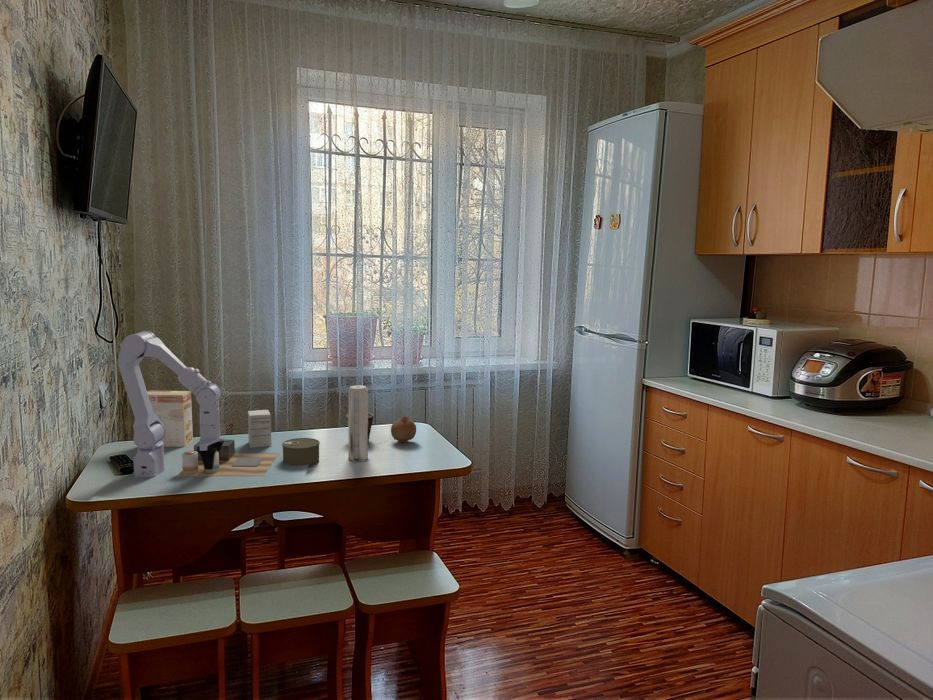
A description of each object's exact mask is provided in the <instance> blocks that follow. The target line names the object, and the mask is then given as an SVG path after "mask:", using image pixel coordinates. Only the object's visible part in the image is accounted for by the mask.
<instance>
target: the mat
mask: <svg viewBox="0 0 933 700" xmlns="http://www.w3.org/2000/svg"><path fill="white" fill-rule="evenodd" d="M262 460H263V458H238V459H237V460H236V461H235V462H234V463H233V465H232V466H258V465H259V464H260V462H261V461H262Z"/></svg>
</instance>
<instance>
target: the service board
mask: <svg viewBox="0 0 933 700" xmlns="http://www.w3.org/2000/svg"><path fill="white" fill-rule="evenodd" d="M279 454H280V453H279V452H269V453H268V452H263V453H262V452H260V453H259V452H252V453H251V452H247V453H246V452H245V453H243V452H242V453H241V452H237V453H236V452H235V455H234V456H233V457H232V458H231V459H230V460H229V461H219V471H218V472H214V473H205V472H204V464H203V461H198V472H197V473H194V474H184V473H183V469H182V470H181V471H180V472H179V473H178V474H177V475H176V477H264V476H265V475H266V473H267V472H268V471H269V469H270V467H271V466H272V465H273V463H274V462H275V460H277V459H276V458H277V457H278V456H279ZM238 458H263V460H262V461H261V462H260V464H259V465H258V466H232V465H233V463H234V462H235V461H236V460H237V459H238Z"/></svg>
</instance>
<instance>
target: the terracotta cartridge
mask: <svg viewBox="0 0 933 700" xmlns="http://www.w3.org/2000/svg"><path fill="white" fill-rule="evenodd" d="M181 457H182V458H181V460H182V461H181V463H182V466H181V467H182V470H183V473H184V474H194V473H197V472H198V452H197V451H194V450H187V451H184V452H182V453H181Z"/></svg>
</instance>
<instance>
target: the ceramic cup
mask: <svg viewBox="0 0 933 700" xmlns="http://www.w3.org/2000/svg"><path fill="white" fill-rule="evenodd" d="M345 418H346V422H347V423H346V424H347V427H348V428H349V420H348V413H347V414H346V415H345ZM373 420H374V414H373V413H371V412H368V443H369V442H370V435H371V432H372V431H371V430H372V425H373Z"/></svg>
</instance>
